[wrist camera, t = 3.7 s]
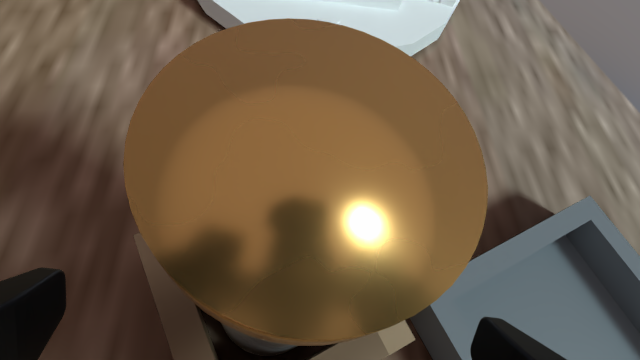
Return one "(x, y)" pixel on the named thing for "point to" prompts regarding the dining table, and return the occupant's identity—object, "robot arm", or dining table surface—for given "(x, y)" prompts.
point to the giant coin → (347, 16)
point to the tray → (547, 291)
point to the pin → (304, 182)
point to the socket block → (194, 340)
